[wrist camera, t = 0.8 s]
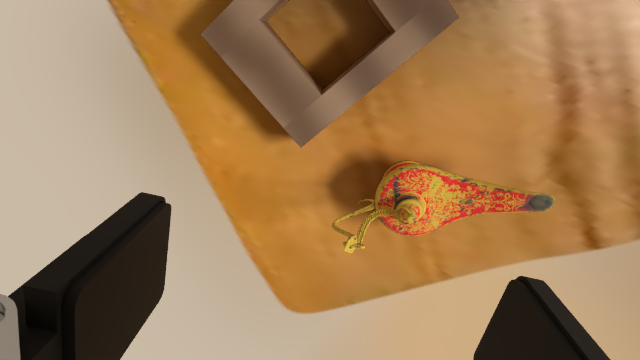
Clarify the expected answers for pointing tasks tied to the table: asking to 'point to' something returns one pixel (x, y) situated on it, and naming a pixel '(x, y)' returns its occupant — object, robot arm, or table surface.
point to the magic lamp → (436, 201)
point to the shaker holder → (294, 80)
